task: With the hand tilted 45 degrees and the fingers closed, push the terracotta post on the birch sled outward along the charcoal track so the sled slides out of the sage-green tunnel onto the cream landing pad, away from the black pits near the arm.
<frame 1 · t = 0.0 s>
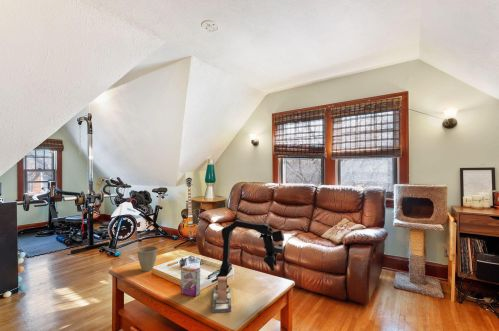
hand: (274, 268, 160), 15 cm above the table, tool pointing down, fingers open, 9 cm apart
track: (222, 302, 149), on the table
plant pot: (147, 269, 197), on the table
candy bar box: (190, 294, 159), on the table
sled: (222, 289, 149), point 8 cm above the table, slide at 0.0 cm
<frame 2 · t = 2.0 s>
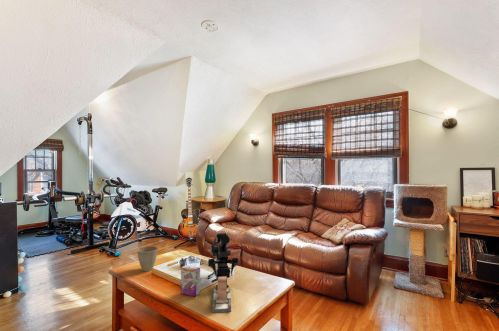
hand: (223, 275, 155), 13 cm above the table, tool tilted 45°, fingers open, 9 cm apart
nothing on the table moved.
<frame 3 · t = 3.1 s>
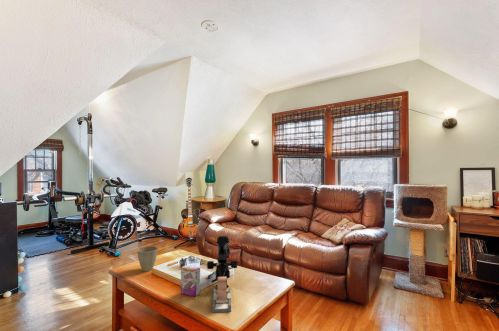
hand: (222, 278, 155), 11 cm above the table, tool tilted 45°, fingers closed
nothing on the table moved.
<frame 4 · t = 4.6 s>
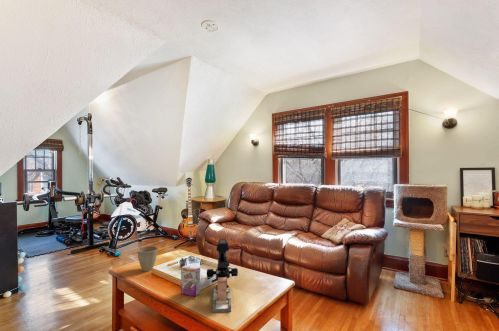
hand: (222, 287, 150), 8 cm above the table, tool tilted 45°, fingers closed, pressing on sled
sled: (222, 289, 148), point 8 cm above the table, slide at 0.9 cm, touching gripper
everything else where it was.
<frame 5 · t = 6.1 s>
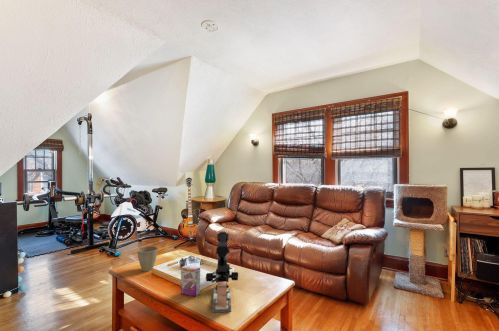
hand: (222, 291, 145), 8 cm above the table, tool tilted 45°, fingers closed, pressing on sled
sled: (222, 294, 142), point 8 cm above the table, slide at 6.7 cm, touching gripper
everything else where it was.
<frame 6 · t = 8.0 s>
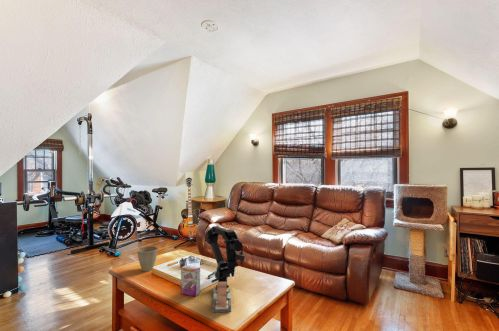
hand: (233, 276, 158), 11 cm above the table, tool pointing down, fingers closed
sled: (222, 294, 142), point 8 cm above the table, slide at 6.7 cm
everything else where it was.
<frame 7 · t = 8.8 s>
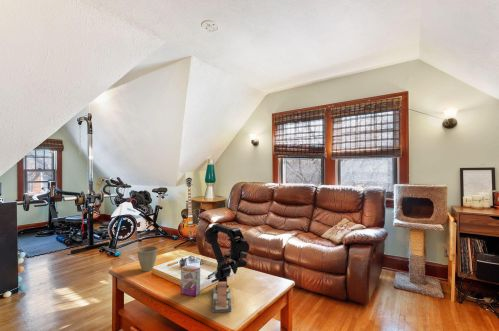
hand: (234, 273, 160), 12 cm above the table, tool pointing down, fingers closed
nothing on the table moved.
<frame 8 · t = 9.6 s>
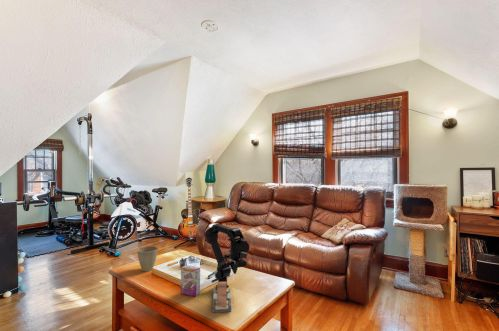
hand: (234, 273, 160), 12 cm above the table, tool pointing down, fingers closed
nothing on the table moved.
at the end: sled slide at 6.7 cm; candy bar box moved 0.2 cm from its start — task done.
